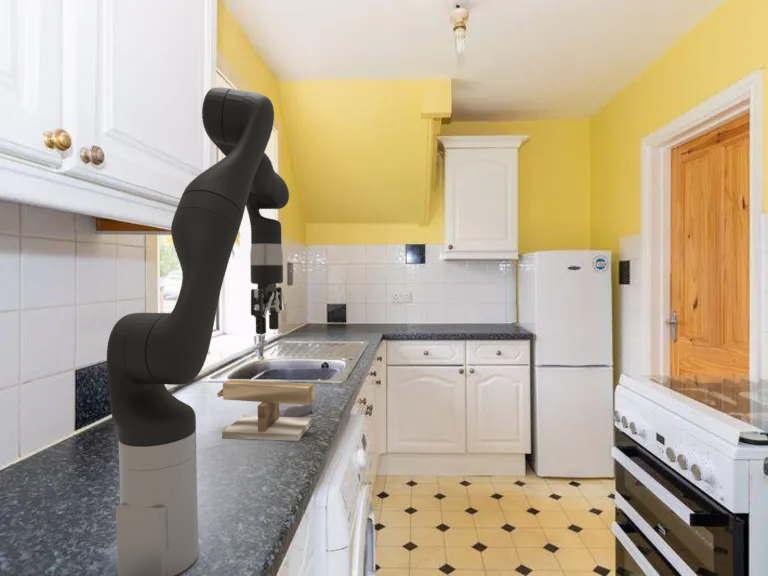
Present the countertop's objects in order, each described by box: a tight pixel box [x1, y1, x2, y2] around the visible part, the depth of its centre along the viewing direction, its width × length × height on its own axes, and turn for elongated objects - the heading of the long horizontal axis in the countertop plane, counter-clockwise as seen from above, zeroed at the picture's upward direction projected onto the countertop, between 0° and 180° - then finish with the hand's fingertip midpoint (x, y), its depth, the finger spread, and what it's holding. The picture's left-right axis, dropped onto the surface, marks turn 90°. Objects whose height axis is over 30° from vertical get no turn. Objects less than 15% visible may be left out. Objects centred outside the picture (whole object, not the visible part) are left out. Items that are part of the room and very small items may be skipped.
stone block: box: [279, 402, 314, 418], centre depth 127 cm, size 12×5×10 cm
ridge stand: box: [221, 402, 313, 442], centre depth 114 cm, size 12×18×8 cm, turn 83°
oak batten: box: [222, 378, 316, 405], centre depth 114 cm, size 4×22×4 cm, turn 77°
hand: (267, 331), depth 113 cm, fingers open, 8 cm apart
